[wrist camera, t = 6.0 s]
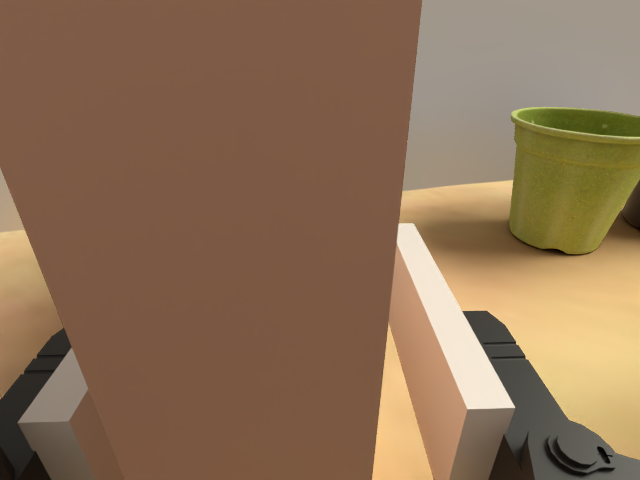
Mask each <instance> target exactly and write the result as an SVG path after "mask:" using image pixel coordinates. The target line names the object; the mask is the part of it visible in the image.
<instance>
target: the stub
mask: <svg viewBox="0 0 640 480" xmlns="http://www.w3.org/2000/svg"><path fill="white" fill-rule="evenodd" d="M421 6H422V0H0V168H1V170H2V173H3V175H4V178H5V180H6V183H7V185H8V188H9V190H10V193H11V195H12V198H13V201H14V203H15V206H16V208H17V211H18V213H19V215H20V218H21V221H22V223H23V225H24V228H25V231H26V233H27V236H28V238H29V241H30V243H31V246H32V248H33V251H34V253H35V256H36V258H37V261H38V263H39V266H40V268H41V271H42V274H43V276H44V279H45V281H46V284H47V286H48V289H49V291H50V294H51V296H52V299H53V301H54V304H55V306H56V309H57V311H58V314H59V316H60V319H61V321H62V324H63V326H64V329H65V331H66V334H67V336H68V339H69V341H70V344H71V346H72V349H73V352H74V354H75V357H76V359H77V362H78V364H79V367H80V369H81V372H82V374H83V377H84V379H85V382H86V384H87V387H88V389H89V392H90V394H91V397H92V399H93V402H94V404H95V407H96V409H97V412H98V414H99V417H100V419H101V422H102V424H103V427H104V430H105V432H106V435H107V437H108V440H109V442H110V445H111V447H112V450H113V452H114V455H115V457H116V460H117V462H118V465H119V467H120V470H121V472H122V475H123V477H124V480H372V473H373V464H374V454H375V445H376V435H377V425H378V416H379V406H380V397H381V387H382V378H383V368H384V359H385V349H386V340H387V330H388V321H389V311H390V302H391V292H392V283H393V273H394V264H395V254H396V244H397V235H398V225H399V216H400V206H401V197H402V187H403V178H404V168H405V159H406V149H407V140H408V130H409V120H410V111H411V102H412V92H413V82H414V73H415V63H416V54H417V43H418V34H419V25H420V15H421Z"/></svg>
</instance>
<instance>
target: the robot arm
mask: <svg viewBox="0 0 640 480" xmlns="http://www.w3.org/2000/svg"><path fill="white" fill-rule="evenodd" d="M389 324H390V328H391V331H392V335H393V338H394V342H395V345H396V349H397V352H398V356H399V359H400V363H401V366H402V370H403V373H404V377H405V380H406V384H407V387H408V391H409V394H410V398H411V401H412V405H413V408H414V412H415V415H416V419H417V422H418V426H419V429H420V433H421V436H422V440H423V443H424V447H425V450H426V454H427V457H428V461H429V464H430V468H431V471H432V475H433V478H434V480H640V460H637V459H633V458H629V457H626V456H623V455H620V454H617V453H615V452H614V450H613V449H612V448H611V447H610V446H609V445H608V444H607V443H606V442H605V441H604V440H603V439H602V438H601V437H600V436H599V435H597V434H596V433H594V432H592V431H591V430H589V429H587V428H586V427H584V426H583V425H581V424H578V423H575V422H572V421H570V420H569V419H568V418H567V417H566V416H565V414H564V413H563V411H562V410H561V408H560V407H559V405H558V404H557V402H556V401H555V399H554V398H553V396H552V395H551V393H550V392H549V390H548V389H547V387H546V386H545V384H544V383H543V381H542V380H541V378H540V377H539V375H538V374H537V372H536V371H535V369H534V368H533V366H532V365H531V364H530V362H529V361H528V360H526V358H525V355H524V353H523V352H522V350H521V349H520V347H519V346H518V345H516V341H515V340H514V338H513V337H512V335H511V334H510V332H509V331H508V329H507V328H506V326H505V325H504V324H503V323H502V322H500V321H499V320H498V319H496V318H495V317H494V316H493V315H491V314H490V313H489V312H488V311H462V310H461V308H460V307H459V305H458V303H457V301H456V299H455V297H454V296H453V294H452V292H451V290H450V288H449V287H448V285H447V283H446V281H445V279H444V278H443V276H442V274H441V272H440V270H439V269H438V267H437V265H436V263H435V261H434V259H433V258H432V256H431V254H430V252H429V250H428V249H427V247H426V245H425V243H424V241H423V240H422V238H421V236H420V234H419V232H418V230H417V229H416V227H415V225H414V223H399V225H398V235H397V244H396V254H395V264H394V273H393V283H392V292H391V302H390V311H389ZM0 480H124V477H123V475H122V472H121V470H120V467H119V465H118V462H117V460H116V457H115V455H114V452H113V450H112V447H111V445H110V442H109V440H108V437H107V435H106V432H105V430H104V427H103V424H102V422H101V419H100V417H99V414H98V412H97V409H96V407H95V404H94V402H93V399H92V397H91V394H90V392H89V389H88V387H87V384H86V382H85V379H84V377H83V374H82V372H81V369H80V367H79V364H78V362H77V359H76V357H75V354H74V352H73V349H72V346H71V344H70V341H69V339H68V336H67V334H66V331H65V329H64V328H63V329H62V330H61V331H59V332H58V333H56V334H55V335H54V336H52V337H51V338H50V340H49V341H48V342H47V343H46V344H45V346H44V347H43V348H42V349H41V351H40V352H39V353H38V354H37V358H36V359H33V360H32V362H31V363H30V364H29V365H28V367H27V368H26V369H25V370H24V375H20V377H19V378H18V379H17V380H16V381H15V383H14V384H13V385H12V386H11V388H10V389H9V390H8V391H7V393H6V394H5V395H4V396H3V397H2V399H1V400H0Z"/></svg>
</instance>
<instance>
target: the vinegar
mask: <svg viewBox="0 0 640 480" xmlns="http://www.w3.org/2000/svg"><path fill="white" fill-rule="evenodd" d="M623 216H624V218H625V219H626V221H628V222H629V223H630V224H631V225H633V226H634V227H636V228H638V229H640V180H639V181H638V183H637V185H636V186H635V188H634V189H633V191H632V193H631V194H630V196H629V198H628V199H627V201H626V203H625V206H624V208H623Z"/></svg>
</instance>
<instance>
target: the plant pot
mask: <svg viewBox="0 0 640 480" xmlns="http://www.w3.org/2000/svg"><path fill="white" fill-rule="evenodd" d="M511 120H512V122H513V123H515V136H514V140H515V142H516V144H517V147H516V158H515V169H514V179H513V189H512V199H511V209H510V217H509V226H510V231H511V232H512V234H513V235H515V236H516V237H517V238H519V239H520V240H522V241H524V242H526V243H527V244H530V245H532V246H534V247H537V248H540V249H547V248H554V249H559V250H561V251H563V252H565V253H566V254H584V253H589V252H592V251H594V250H596V249H597V248H598V247H599V245H600V244H601V242H602V240H603V239H604V237H605V236H606V234H607V232H608V231H609V229H610V227H611V226H612V224H613V222H614V221H615V219H616V217H617V216H618V214H619V212H620V211H621V209H622V207H623V206H624V204H625V202H626V201H627V199H628V198H629V196H630V194H631V193H632V191H633V189H634V188H635V186H636V185H637V183H638V181H639V180H640V116H635V115H629V114H624V113H618V112H611V111H601V110H592V109H580V108H561V107H531V108H522V109H518V110H515V111H513V112H512V114H511Z"/></svg>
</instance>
